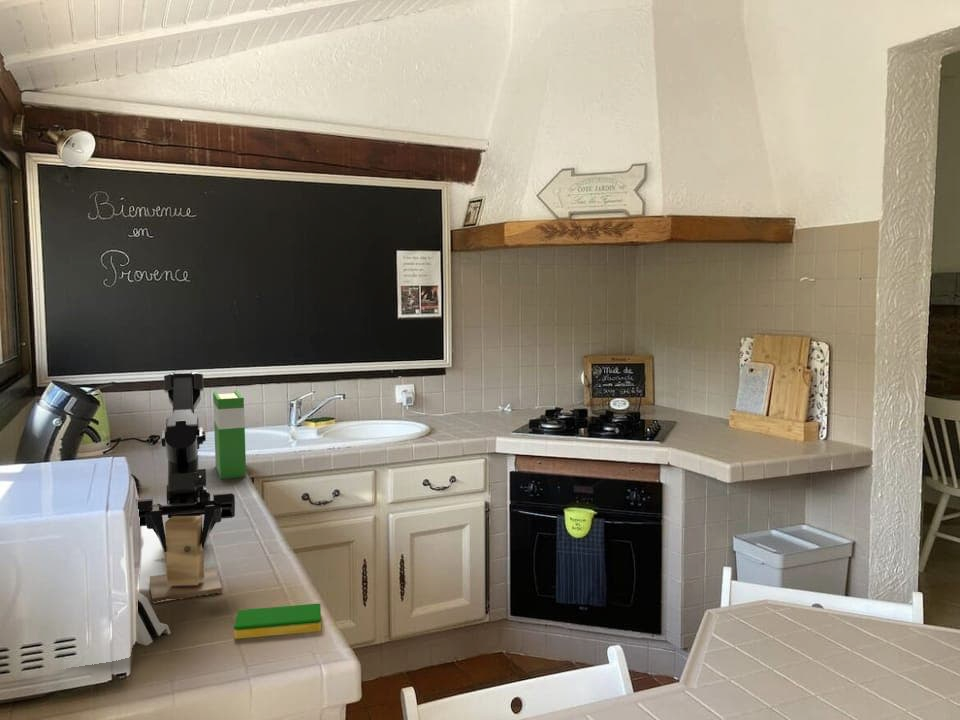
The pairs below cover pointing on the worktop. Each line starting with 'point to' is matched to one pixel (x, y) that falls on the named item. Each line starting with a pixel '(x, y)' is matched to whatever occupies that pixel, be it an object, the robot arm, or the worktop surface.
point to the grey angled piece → (148, 622)
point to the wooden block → (184, 550)
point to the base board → (184, 587)
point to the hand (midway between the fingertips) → (184, 549)
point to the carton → (229, 435)
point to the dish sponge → (277, 620)
